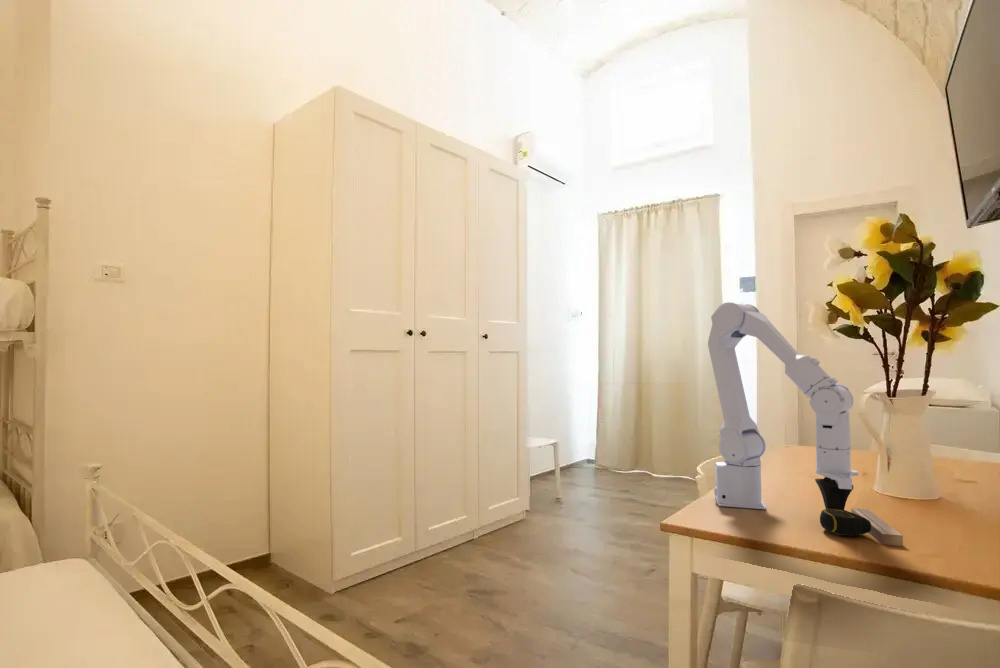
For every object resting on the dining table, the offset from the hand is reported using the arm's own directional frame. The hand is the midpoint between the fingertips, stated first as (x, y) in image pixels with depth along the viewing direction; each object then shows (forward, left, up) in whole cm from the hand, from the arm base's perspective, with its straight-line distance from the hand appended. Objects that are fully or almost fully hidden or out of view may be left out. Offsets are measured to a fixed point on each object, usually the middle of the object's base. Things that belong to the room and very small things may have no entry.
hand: (834, 517), depth 104 cm
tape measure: (0, -5, -1) cm, 5 cm away
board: (+6, -2, -1) cm, 7 cm away
